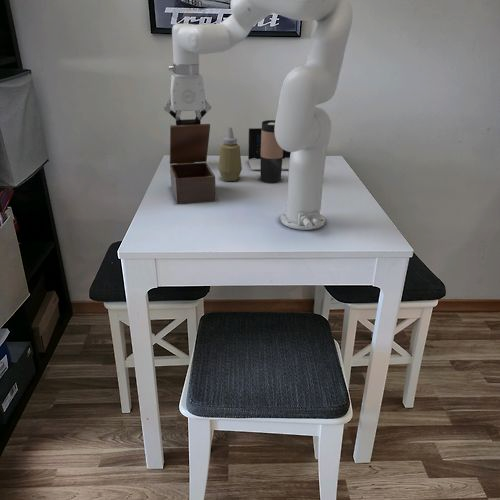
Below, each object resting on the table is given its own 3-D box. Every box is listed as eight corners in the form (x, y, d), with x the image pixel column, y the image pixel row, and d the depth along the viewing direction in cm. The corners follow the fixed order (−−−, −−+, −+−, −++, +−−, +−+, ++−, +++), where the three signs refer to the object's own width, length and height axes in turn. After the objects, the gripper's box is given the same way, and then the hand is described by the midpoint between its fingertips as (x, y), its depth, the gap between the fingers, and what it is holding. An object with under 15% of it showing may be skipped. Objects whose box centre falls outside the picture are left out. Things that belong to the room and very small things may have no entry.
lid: (210, 125, 143) (207, 113, 146) (170, 127, 140) (168, 115, 143) (206, 161, 156) (203, 150, 159) (170, 163, 154) (168, 152, 156)
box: (215, 201, 148) (215, 176, 144) (177, 204, 145) (175, 179, 141) (206, 185, 161) (206, 162, 157) (171, 187, 158) (170, 164, 154)
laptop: (251, 171, 175) (252, 136, 169) (247, 161, 186) (248, 128, 180) (299, 170, 177) (301, 135, 171) (292, 160, 188) (294, 127, 182)
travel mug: (281, 176, 170) (284, 120, 161) (281, 183, 163) (284, 125, 154) (260, 175, 171) (262, 119, 161) (258, 182, 164) (260, 124, 155)
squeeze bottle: (244, 181, 165) (245, 129, 157) (222, 183, 162) (222, 131, 154) (236, 174, 171) (237, 124, 163) (215, 176, 169) (214, 125, 160)
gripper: (158, 72, 134) (162, 136, 142) (217, 71, 138) (217, 134, 146) (156, 68, 140) (159, 130, 149) (212, 68, 144) (213, 128, 152)
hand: (188, 131), depth 147 cm, fingers closed on lid, 4 cm apart
